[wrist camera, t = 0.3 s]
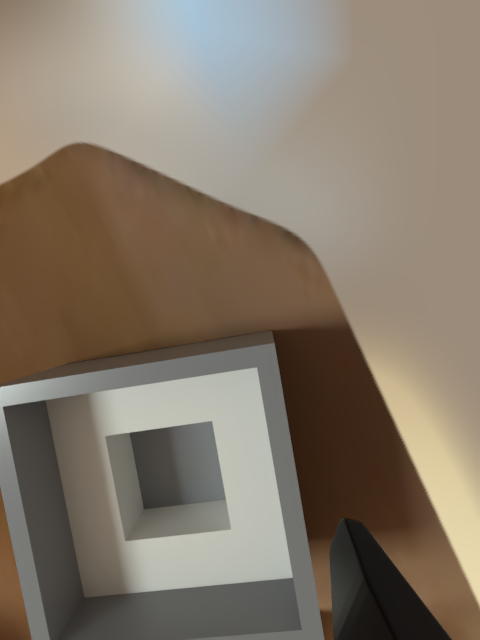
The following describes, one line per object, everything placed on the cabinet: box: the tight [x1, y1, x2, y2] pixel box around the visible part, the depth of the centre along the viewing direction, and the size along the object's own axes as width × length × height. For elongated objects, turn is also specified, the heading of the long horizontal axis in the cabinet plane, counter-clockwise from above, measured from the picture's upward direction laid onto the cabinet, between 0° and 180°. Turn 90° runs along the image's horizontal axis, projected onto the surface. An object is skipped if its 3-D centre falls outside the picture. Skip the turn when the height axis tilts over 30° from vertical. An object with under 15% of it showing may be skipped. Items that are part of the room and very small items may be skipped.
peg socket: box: [0, 330, 324, 640], centre depth 19 cm, size 15×15×7 cm
